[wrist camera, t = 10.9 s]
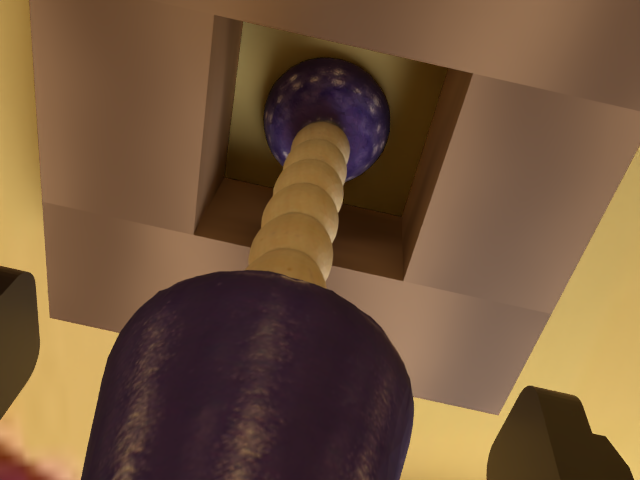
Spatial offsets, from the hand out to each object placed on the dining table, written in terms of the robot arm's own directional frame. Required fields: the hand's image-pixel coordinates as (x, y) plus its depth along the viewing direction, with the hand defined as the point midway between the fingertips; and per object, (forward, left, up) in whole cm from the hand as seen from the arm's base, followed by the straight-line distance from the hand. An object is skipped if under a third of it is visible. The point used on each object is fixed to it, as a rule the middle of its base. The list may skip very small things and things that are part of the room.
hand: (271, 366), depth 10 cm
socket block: (0, 0, -12) cm, 12 cm away
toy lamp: (0, 0, -12) cm, 12 cm away
